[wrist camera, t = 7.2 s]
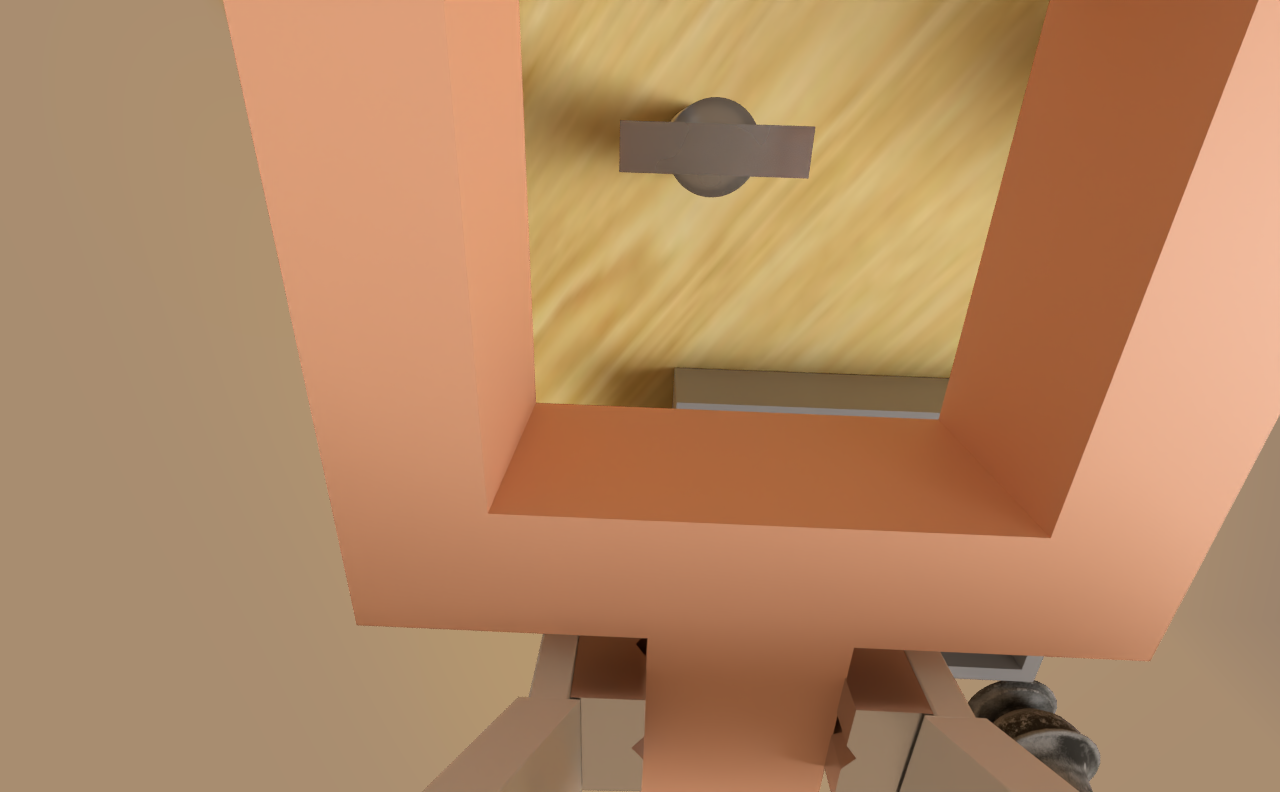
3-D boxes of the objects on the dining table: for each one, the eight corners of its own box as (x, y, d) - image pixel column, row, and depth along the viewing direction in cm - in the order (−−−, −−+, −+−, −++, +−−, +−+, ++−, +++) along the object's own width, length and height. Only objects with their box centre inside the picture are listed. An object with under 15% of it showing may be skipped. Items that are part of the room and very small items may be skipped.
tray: (674, 367, 28) (676, 402, 24) (1082, 383, 28) (1142, 421, 24) (660, 609, 34) (661, 664, 30) (994, 624, 34) (1033, 682, 30)
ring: (333, -319, 6) (82, -659, 4) (1305, -292, 6) (1822, -621, 3) (454, 644, 12) (394, 799, 9) (966, 666, 12) (1060, 832, 9)
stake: (635, 104, 23) (620, 92, 15) (759, 108, 23) (818, 99, 15) (633, 169, 24) (618, 196, 16) (752, 174, 24) (804, 203, 16)
